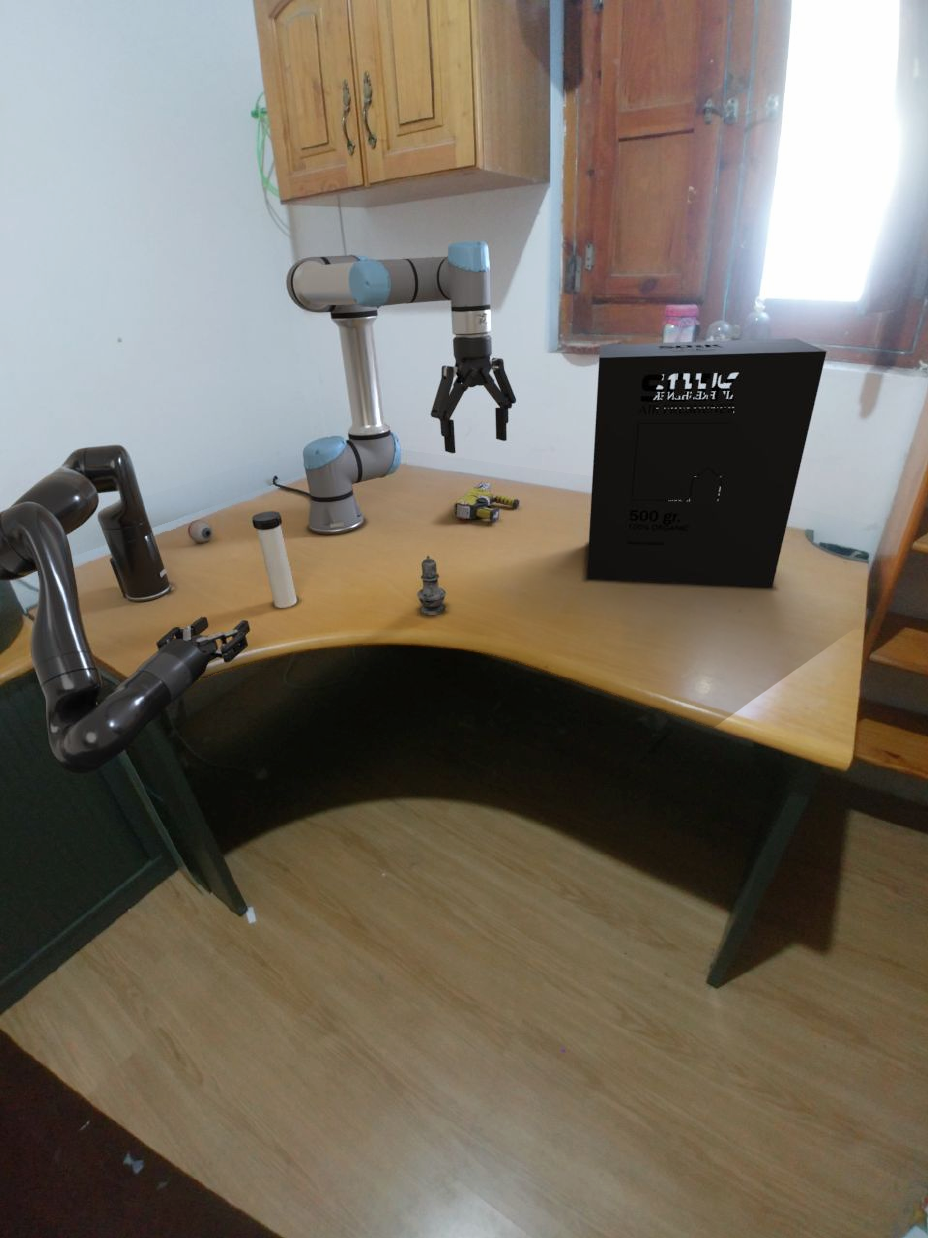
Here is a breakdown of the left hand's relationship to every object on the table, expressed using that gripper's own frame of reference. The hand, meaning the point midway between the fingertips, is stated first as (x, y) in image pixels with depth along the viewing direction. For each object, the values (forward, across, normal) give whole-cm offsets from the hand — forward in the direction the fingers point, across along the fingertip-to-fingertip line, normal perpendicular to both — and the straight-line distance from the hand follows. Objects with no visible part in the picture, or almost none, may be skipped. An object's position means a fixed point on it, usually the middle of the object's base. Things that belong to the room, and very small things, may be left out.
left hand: (226, 622), depth 110 cm
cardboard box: (+50, -81, +7) cm, 96 cm away
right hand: (+43, -38, -21) cm, 62 cm away
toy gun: (+81, -33, +6) cm, 88 cm away
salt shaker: (+22, -33, +7) cm, 40 cm away
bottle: (+20, 0, +7) cm, 21 cm away
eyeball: (+49, +40, +6) cm, 64 cm away
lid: (+20, 0, -13) cm, 24 cm away
